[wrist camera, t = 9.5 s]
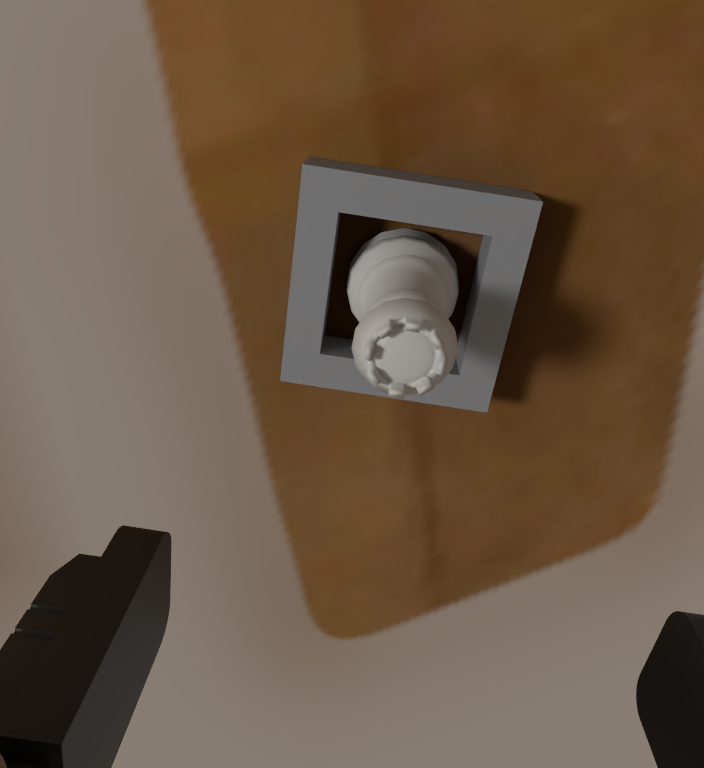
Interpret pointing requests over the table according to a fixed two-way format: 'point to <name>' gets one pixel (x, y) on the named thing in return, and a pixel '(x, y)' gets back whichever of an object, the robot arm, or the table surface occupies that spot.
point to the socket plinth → (422, 207)
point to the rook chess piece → (403, 311)
